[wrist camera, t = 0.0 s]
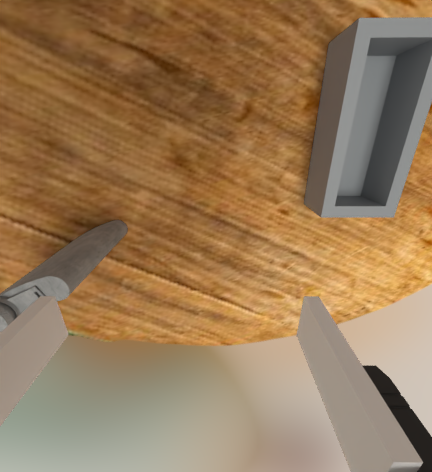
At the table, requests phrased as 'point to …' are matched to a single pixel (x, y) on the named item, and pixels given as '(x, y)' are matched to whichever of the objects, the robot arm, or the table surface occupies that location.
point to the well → (370, 116)
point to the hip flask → (61, 271)
